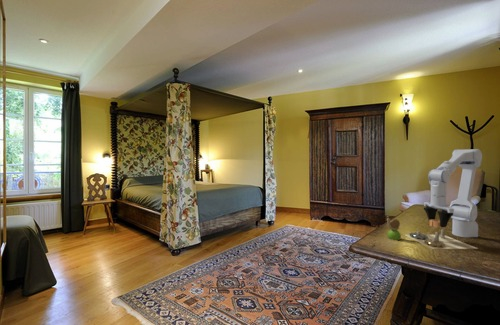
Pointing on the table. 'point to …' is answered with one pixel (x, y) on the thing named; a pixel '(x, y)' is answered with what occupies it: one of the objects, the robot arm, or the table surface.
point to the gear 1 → (419, 236)
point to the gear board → (444, 241)
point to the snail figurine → (393, 229)
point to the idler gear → (435, 223)
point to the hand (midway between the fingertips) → (437, 224)
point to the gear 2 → (431, 243)
